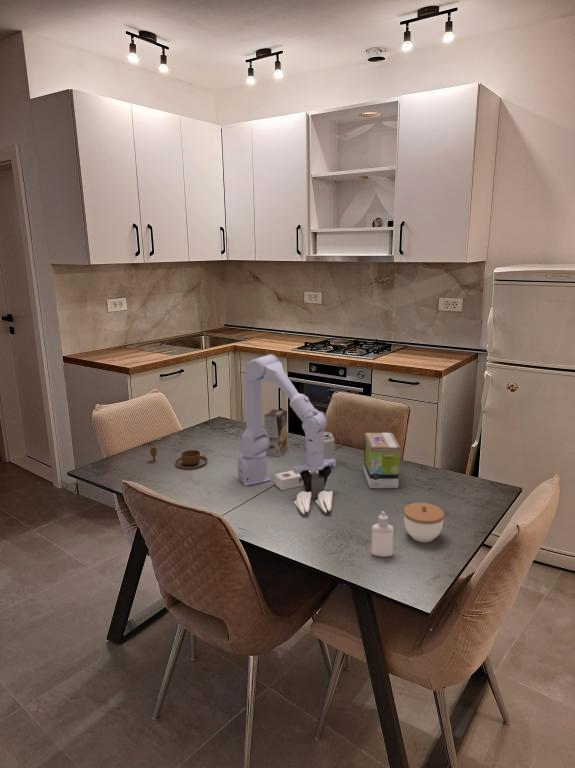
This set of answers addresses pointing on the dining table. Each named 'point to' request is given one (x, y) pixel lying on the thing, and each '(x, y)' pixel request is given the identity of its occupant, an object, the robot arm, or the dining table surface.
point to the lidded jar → (423, 521)
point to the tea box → (381, 460)
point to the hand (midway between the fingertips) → (314, 490)
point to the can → (328, 446)
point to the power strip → (288, 480)
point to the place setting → (185, 458)
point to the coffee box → (276, 431)
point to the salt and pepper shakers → (323, 497)
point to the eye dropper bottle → (382, 537)
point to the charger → (315, 484)
